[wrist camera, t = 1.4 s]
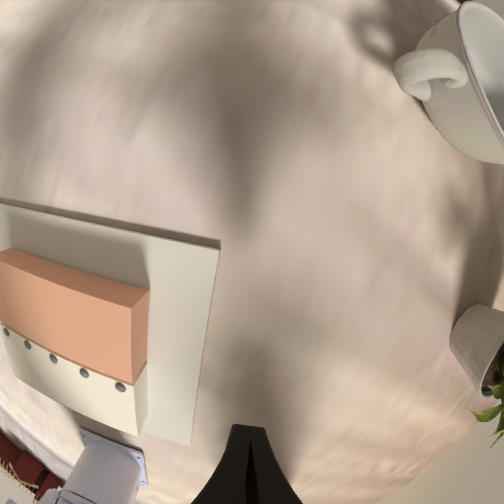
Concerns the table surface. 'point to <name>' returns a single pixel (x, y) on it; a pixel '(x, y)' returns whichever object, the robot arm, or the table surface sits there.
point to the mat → (144, 276)
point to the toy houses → (26, 469)
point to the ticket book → (79, 384)
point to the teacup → (461, 80)
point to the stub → (75, 313)
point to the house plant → (482, 355)
